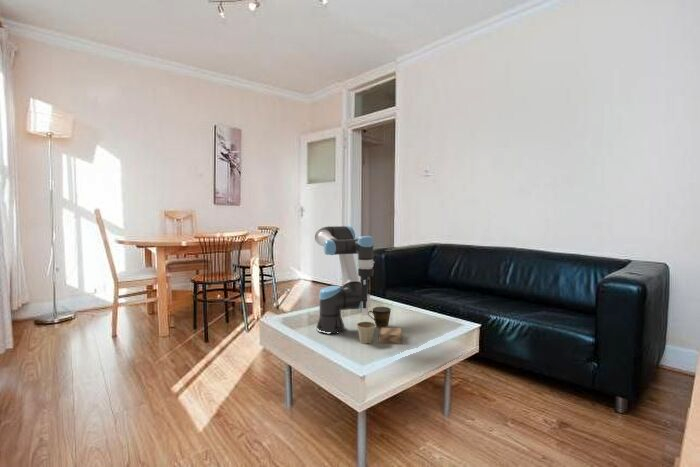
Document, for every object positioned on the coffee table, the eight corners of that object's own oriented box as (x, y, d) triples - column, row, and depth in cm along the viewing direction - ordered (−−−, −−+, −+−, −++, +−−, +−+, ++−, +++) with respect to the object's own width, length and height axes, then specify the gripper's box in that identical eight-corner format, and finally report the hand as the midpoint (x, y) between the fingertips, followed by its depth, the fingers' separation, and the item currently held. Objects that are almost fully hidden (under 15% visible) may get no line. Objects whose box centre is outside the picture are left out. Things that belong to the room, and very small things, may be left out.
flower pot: (375, 338, 182) (375, 321, 181) (375, 345, 172) (375, 327, 172) (357, 337, 182) (357, 321, 182) (355, 344, 173) (355, 327, 173)
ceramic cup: (387, 323, 206) (387, 306, 205) (393, 328, 196) (393, 310, 195) (365, 324, 203) (365, 307, 202) (370, 330, 193) (370, 312, 192)
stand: (379, 342, 176) (379, 334, 176) (380, 334, 187) (380, 327, 187) (401, 343, 174) (401, 335, 174) (401, 335, 185) (401, 328, 185)
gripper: (371, 272, 162) (371, 318, 163) (375, 264, 187) (375, 304, 188) (354, 272, 163) (355, 317, 164) (361, 264, 188) (361, 304, 189)
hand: (366, 310), depth 176 cm, fingers open, 13 cm apart
